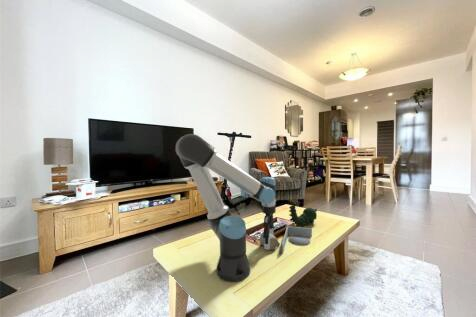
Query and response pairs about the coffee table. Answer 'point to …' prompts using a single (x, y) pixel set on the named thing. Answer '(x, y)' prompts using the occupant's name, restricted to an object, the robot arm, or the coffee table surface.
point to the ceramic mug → (273, 241)
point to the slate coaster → (299, 240)
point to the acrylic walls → (296, 233)
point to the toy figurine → (302, 215)
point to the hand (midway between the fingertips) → (269, 244)
